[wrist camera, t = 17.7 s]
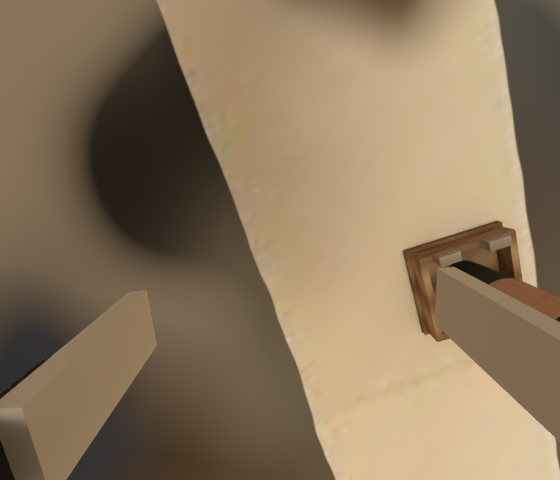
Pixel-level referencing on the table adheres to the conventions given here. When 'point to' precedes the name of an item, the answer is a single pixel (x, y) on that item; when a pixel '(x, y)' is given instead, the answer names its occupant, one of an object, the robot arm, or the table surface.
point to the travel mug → (513, 288)
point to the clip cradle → (459, 247)
